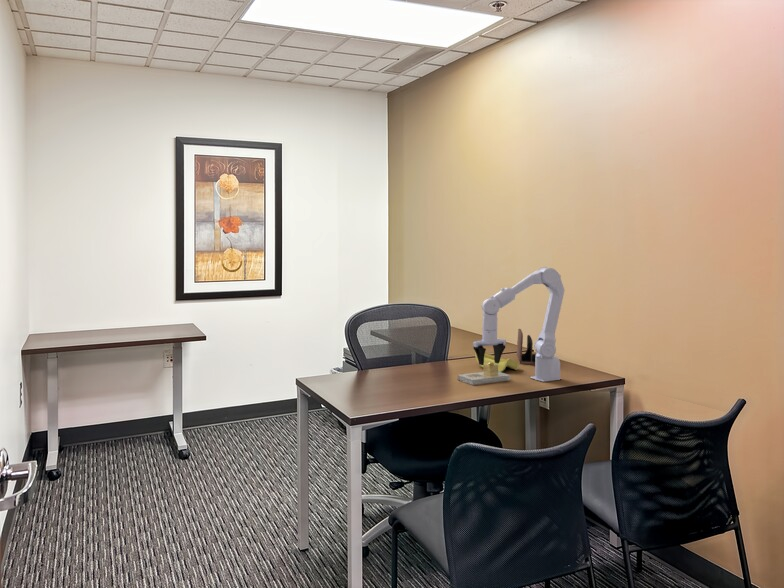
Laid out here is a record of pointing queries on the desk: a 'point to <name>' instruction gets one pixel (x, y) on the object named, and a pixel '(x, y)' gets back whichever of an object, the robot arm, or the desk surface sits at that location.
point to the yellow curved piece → (502, 364)
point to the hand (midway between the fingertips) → (489, 363)
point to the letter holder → (528, 356)
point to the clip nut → (491, 369)
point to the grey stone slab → (483, 378)
